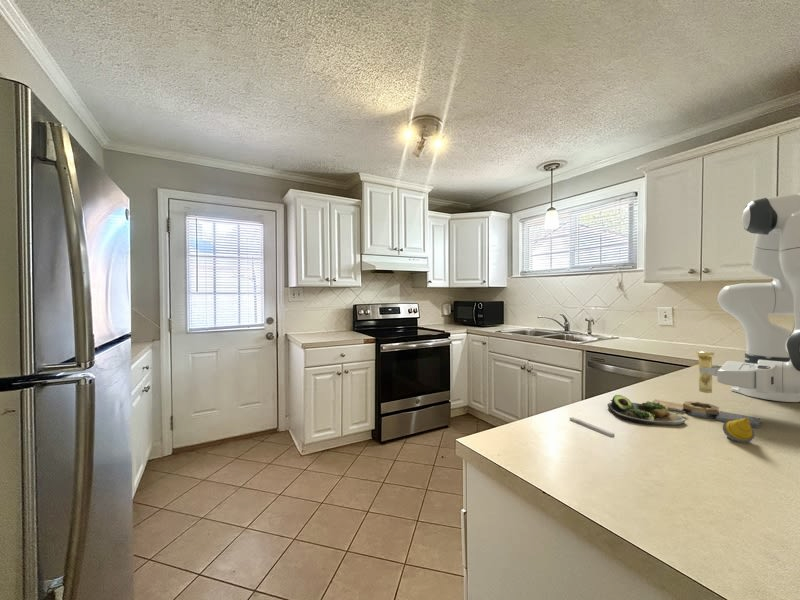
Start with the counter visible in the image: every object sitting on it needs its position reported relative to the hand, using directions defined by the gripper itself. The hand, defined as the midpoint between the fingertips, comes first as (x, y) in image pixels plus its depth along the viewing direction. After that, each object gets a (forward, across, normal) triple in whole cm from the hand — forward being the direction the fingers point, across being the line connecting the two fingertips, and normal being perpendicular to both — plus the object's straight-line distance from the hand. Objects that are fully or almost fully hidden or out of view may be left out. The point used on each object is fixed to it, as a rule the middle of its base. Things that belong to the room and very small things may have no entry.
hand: (701, 368), depth 105 cm
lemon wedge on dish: (-11, +26, +12) cm, 31 cm away
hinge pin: (-1, 0, +7) cm, 7 cm away
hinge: (-1, +8, +12) cm, 15 cm away
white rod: (+16, +44, +12) cm, 48 cm away
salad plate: (+10, +22, +12) cm, 27 cm away
